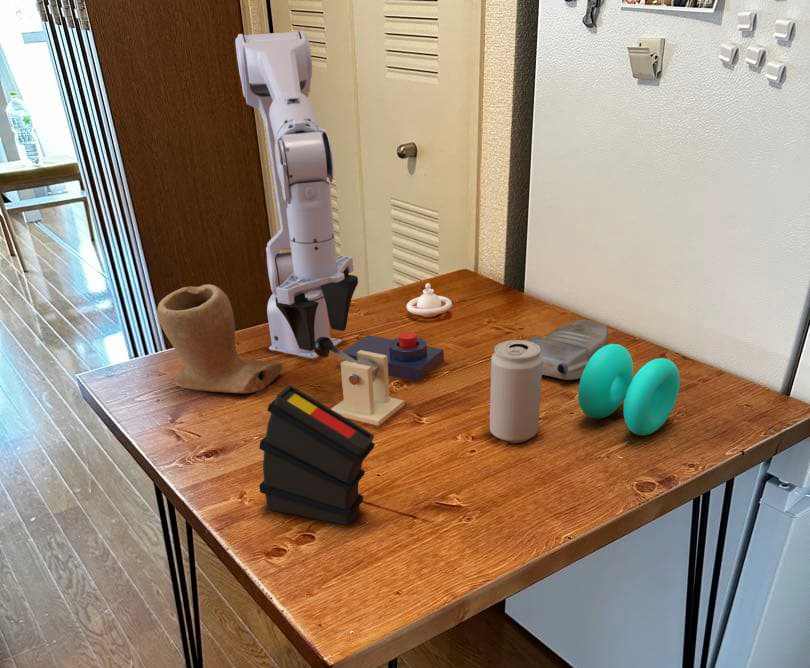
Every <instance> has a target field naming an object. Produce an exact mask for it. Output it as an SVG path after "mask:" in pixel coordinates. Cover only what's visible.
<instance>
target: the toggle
mask: <svg viewBox="0 0 810 668" xmlns="http://www.w3.org/2000/svg"><path fill="white" fill-rule="evenodd" d="M314 351H315V353H316V354H317V355H318V356H319V357H320V358H328V357H329V358H331V359H333V360H334V361H336V362H338V363H339V364H341V363H342V362H343V361H348V362H352V363H357V364H362V365H366V366H371V367H372V380H373V382H374V381H375V380H376V376H377V373H378V369H379V366H378V365H376V364H374V363H373V362H371V361H369V360H367V359H366V358H364V357H362V358H360V359H359V360H357V361H356V360H355V359H353V358H351V357H350V356H348V355H346V354H345V353H343V352H342V350H340V349H338V348H337V347H336V346H335V347H334V344H333V342H332V340H331V339H329V338H328V337H319V338H318V339H317V340H316V341H315V346H314Z"/></svg>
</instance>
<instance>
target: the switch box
mask: <svg viewBox="0 0 810 668" xmlns="http://www.w3.org/2000/svg"><path fill="white" fill-rule="evenodd" d="M362 357H364V358H366V359H367V360H369V361H371V362H373V363H374V364H376V365H378V366H379V369H378V373H377V376H376V380H375V381H374V382H373V380H372V367H371V366H366V365H362V364H357V363H352V362H348V361H343V362H342V363H340V373H341V374H340V375H341V385H342V394H343V395H342V396H343V399H342V400H340V402H338V403H337V404H335V405H334V406H333V407H331V408H330V409H332V410H333V411H335V412H337V413H338V414H340V415H342V416H343V417H345V418H347V419H348V420H354V421H357V422H362V423H366V424H370V425H374V426H378V427H379V426H380V425H382V424H383V423H384V422H386V420H388V419H389V418H391V417H392V416H393V415H394V414H395V413H396V412H398V411H399V410H400V409H402V408H403V407H404V406H405V400H403V399H399V398H396V397H391V396H390V381H389V379H390V378H389V375H388V360H387V355H382V354H377V353H373V352H368V351H363V350H360V351H358V352H357V360H359V359H360V358H362Z"/></svg>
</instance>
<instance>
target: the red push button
mask: <svg viewBox="0 0 810 668" xmlns="http://www.w3.org/2000/svg"><path fill="white" fill-rule="evenodd" d="M417 337H418V334H417V333H416V332H414V331H404V332H400V333H399V334H398V337H397V338H399V347H400V348H413V347H417Z"/></svg>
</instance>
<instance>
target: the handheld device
mask: <svg viewBox="0 0 810 668" xmlns="http://www.w3.org/2000/svg"><path fill="white" fill-rule="evenodd" d="M608 336H609V330H608V327H607V325H606V324H605V323H602V322H598V321H593V320H588V319H579V320H578V319H577V320H574V321H572V322H568V323H566V324H564V325H561V326H559V327H558V328H556V329H554V330H553V331H551V332H550V333H548V334H547V335H546V336H545V337H541V336H537V335H533V336H531V337H530V338H529V339H527V341H530V342H533V343H535V344H537V345H538V346H539V347H540V354H541V355H542V357H543V365H542V376H548V377H551V378H555V379H556V378H557V379H560V380H566V381H574V380H579V379H581V376H582V373H583V371H584V369H585V367H586V365H587V363H588V361H589V360H590V358H591V357H592V356H593V355H594V354H595V353H596V352H597V351H598V350H599V349H601V348H602V347H604V346H606V345H608Z"/></svg>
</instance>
